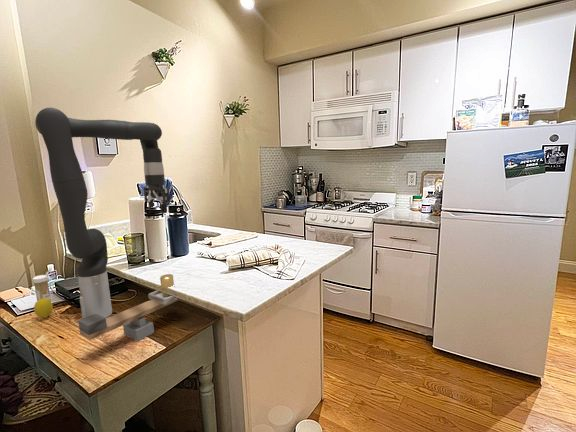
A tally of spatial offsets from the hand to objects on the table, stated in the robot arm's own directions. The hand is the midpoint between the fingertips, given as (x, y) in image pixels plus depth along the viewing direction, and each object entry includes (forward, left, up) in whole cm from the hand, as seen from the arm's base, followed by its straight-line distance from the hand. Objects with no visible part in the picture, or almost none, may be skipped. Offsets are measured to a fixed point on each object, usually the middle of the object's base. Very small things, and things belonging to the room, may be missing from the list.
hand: (158, 212), depth 131 cm
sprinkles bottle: (-45, +8, -36) cm, 58 cm away
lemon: (-43, -2, -36) cm, 56 cm away
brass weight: (-1, -25, -27) cm, 37 cm away
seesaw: (-11, -31, -29) cm, 44 cm away
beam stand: (-11, -31, -36) cm, 49 cm away
